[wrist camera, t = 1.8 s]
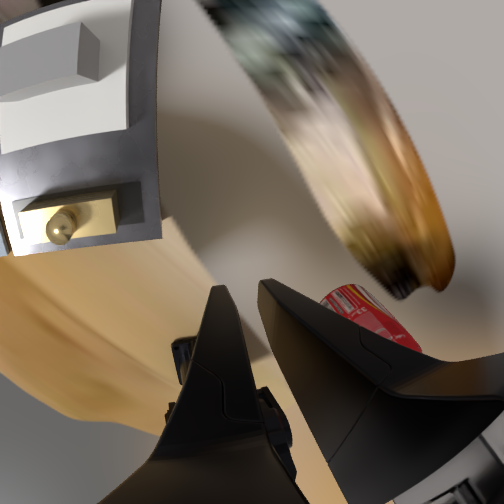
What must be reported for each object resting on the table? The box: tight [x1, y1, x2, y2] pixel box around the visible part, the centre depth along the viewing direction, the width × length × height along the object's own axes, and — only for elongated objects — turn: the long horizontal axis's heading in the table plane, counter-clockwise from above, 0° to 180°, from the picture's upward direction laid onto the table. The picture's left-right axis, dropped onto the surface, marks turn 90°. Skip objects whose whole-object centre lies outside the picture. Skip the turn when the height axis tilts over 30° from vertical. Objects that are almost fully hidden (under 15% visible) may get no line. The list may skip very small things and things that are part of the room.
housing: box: [0, 0, 162, 256], centre depth 14 cm, size 16×11×3 cm
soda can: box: [319, 284, 422, 353], centre depth 25 cm, size 7×7×12 cm
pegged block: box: [19, 189, 120, 245], centre depth 14 cm, size 2×6×3 cm, turn 88°
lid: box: [0, 0, 134, 154], centre depth 9 cm, size 8×8×5 cm
